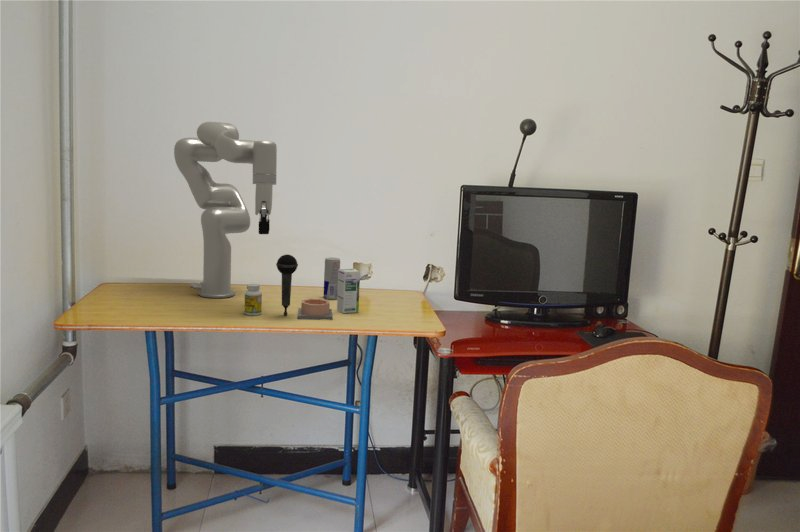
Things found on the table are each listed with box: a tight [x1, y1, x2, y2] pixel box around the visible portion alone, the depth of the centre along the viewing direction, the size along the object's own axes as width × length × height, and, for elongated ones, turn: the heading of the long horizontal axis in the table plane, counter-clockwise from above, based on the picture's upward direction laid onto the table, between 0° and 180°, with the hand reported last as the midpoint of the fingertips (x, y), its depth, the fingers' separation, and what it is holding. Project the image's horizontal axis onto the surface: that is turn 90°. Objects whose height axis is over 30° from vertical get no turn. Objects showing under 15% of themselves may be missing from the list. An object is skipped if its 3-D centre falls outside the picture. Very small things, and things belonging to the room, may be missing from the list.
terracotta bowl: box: [297, 298, 333, 321], centre depth 217 cm, size 11×11×4 cm
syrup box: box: [336, 268, 361, 314], centre depth 225 cm, size 6×6×14 cm
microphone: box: [275, 254, 299, 317], centre depth 213 cm, size 7×7×20 cm
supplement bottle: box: [244, 283, 263, 316], centre depth 214 cm, size 5×5×10 cm
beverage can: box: [322, 256, 341, 300], centre depth 244 cm, size 6×6×15 cm
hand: (264, 232), depth 216 cm, fingers open, 9 cm apart
